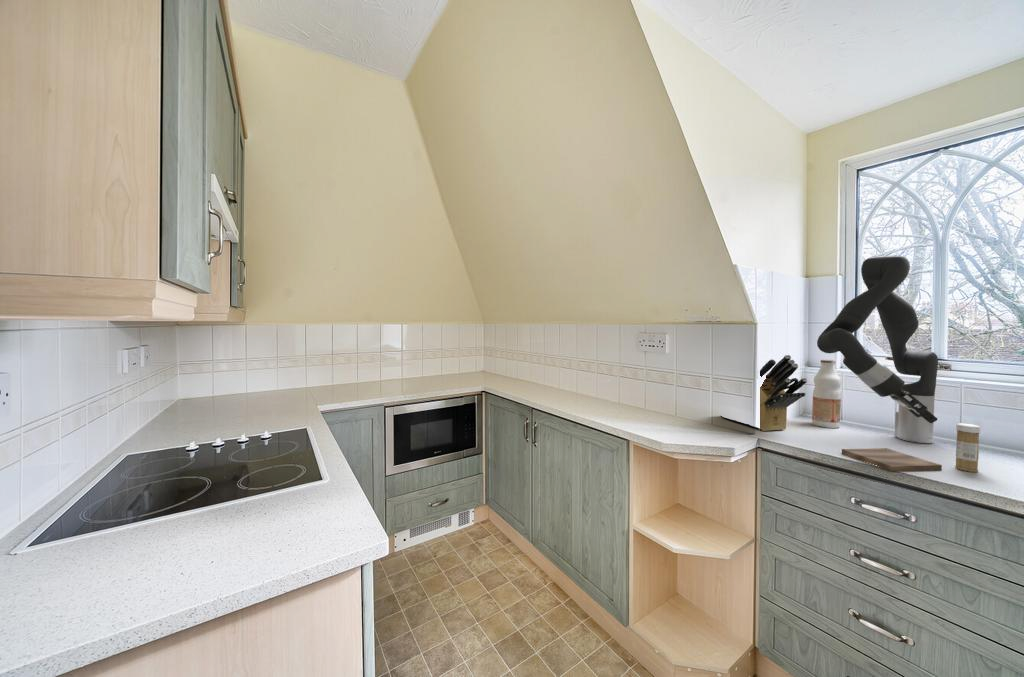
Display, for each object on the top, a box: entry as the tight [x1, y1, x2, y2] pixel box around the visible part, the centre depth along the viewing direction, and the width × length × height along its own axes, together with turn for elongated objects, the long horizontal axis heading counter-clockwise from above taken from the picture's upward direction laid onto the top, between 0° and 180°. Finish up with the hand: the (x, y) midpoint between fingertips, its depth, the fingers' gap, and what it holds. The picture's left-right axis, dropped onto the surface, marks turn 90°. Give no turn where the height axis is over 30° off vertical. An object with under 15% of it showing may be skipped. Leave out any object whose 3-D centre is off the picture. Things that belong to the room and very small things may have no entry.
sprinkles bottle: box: [954, 422, 981, 473], centre depth 117 cm, size 5×5×13 cm
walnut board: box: [841, 447, 943, 472], centre depth 124 cm, size 16×16×2 cm
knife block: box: [759, 354, 808, 432], centre depth 166 cm, size 11×35×31 cm, turn 12°
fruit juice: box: [811, 359, 842, 429], centre depth 168 cm, size 9×9×28 cm
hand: (927, 418), depth 121 cm, fingers open, 8 cm apart
